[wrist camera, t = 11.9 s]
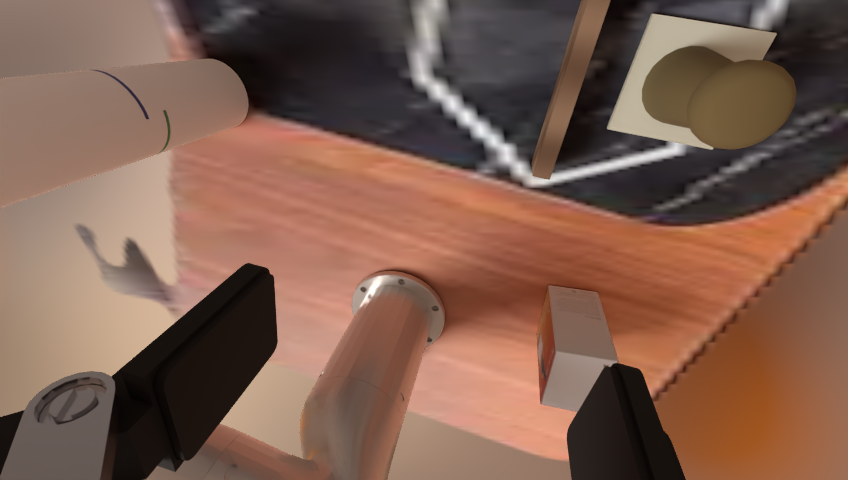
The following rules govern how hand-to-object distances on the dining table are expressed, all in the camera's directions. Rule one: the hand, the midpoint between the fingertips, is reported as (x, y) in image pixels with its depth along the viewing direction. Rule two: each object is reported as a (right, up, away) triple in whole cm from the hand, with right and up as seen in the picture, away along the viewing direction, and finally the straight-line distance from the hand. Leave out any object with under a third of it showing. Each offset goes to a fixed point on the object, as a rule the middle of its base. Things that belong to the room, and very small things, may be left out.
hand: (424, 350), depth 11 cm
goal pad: (+22, +16, +21) cm, 34 cm away
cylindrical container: (-22, +19, +31) cm, 42 cm away
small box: (+17, -6, +34) cm, 39 cm away
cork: (+21, +16, +21) cm, 34 cm away
